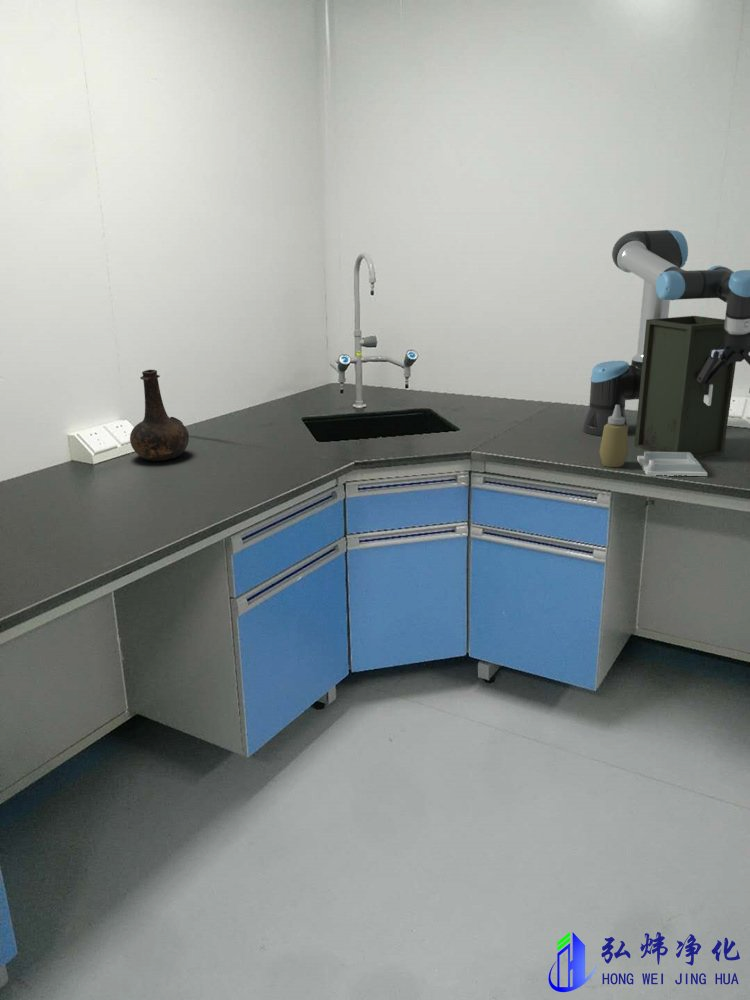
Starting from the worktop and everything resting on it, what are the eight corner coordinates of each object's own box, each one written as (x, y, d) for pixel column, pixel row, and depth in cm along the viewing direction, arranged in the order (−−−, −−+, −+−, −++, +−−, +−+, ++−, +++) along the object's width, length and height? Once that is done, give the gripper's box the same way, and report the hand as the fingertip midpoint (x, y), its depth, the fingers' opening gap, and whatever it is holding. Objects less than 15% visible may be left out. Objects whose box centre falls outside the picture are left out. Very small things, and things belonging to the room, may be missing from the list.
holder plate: (637, 459, 227) (638, 446, 226) (693, 460, 225) (694, 447, 223) (647, 475, 212) (648, 461, 211) (706, 477, 210) (708, 462, 209)
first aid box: (676, 462, 225) (691, 325, 212) (634, 447, 242) (646, 319, 228) (723, 454, 232) (741, 321, 218) (679, 440, 248) (693, 315, 234)
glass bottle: (201, 455, 242) (192, 368, 233) (153, 469, 230) (141, 377, 221) (169, 446, 254) (159, 363, 244) (122, 459, 241) (109, 371, 232)
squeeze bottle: (631, 464, 223) (637, 404, 217) (619, 470, 217) (624, 409, 211) (606, 459, 228) (611, 400, 222) (593, 465, 223) (598, 405, 217)
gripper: (701, 343, 201) (694, 413, 213) (791, 325, 202) (779, 396, 214) (687, 333, 208) (681, 401, 220) (775, 316, 208) (764, 385, 220)
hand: (729, 399), depth 217 cm, fingers open, 13 cm apart
